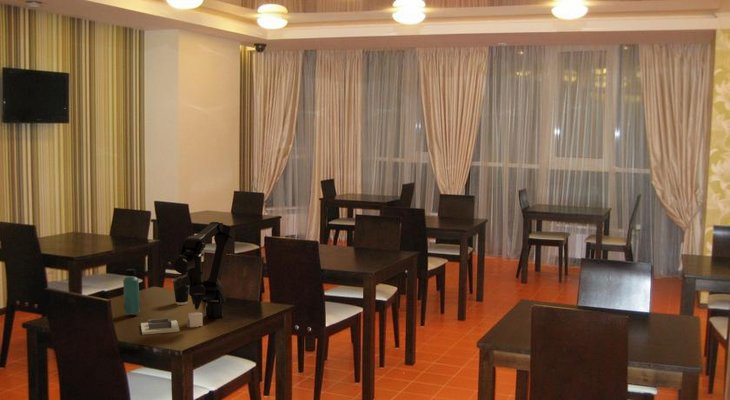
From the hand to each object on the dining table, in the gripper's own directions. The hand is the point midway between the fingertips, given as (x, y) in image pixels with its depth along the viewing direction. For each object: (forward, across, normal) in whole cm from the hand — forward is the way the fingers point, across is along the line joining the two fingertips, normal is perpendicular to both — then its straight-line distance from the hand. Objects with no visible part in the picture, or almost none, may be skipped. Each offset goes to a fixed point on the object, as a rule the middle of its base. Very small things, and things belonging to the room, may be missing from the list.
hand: (195, 306), depth 303 cm
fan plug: (+8, 0, 0) cm, 8 cm away
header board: (+8, 0, -14) cm, 16 cm away
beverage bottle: (+8, -25, -24) cm, 36 cm away
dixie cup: (+8, -41, -2) cm, 42 cm away
